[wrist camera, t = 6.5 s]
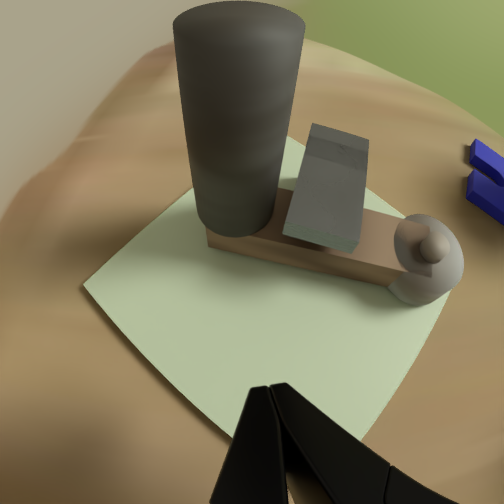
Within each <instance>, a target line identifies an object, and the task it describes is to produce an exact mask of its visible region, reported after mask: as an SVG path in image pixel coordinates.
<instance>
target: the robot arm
mask: <svg viewBox="0 0 504 504" xmlns="http://www.w3.org/2000/svg"><path fill="white" fill-rule="evenodd" d="M287 485H288V487H289V490H290V493H291V495H292V498H293V500H294V503H295V504H459V503H457V502H454V501H452V500H450V499H448V498H446V497H444V496H442V495H440V494H438V493H436V492H434V491H432V490H430V489H429V488H427V487H425V486H423V485H422V484H420V483H418V482H417V481H415V480H414V479H412V478H411V477H409V476H408V475H406V474H405V473H403V472H402V471H400V470H399V469H397V468H396V467H395V466H390V463H389V462H387V461H386V460H385V459H383V458H382V457H381V456H379V455H378V454H377V453H375V452H374V451H372V450H371V449H370V448H368V447H367V446H366V445H364V444H363V443H362V442H360V441H359V440H358V439H357V438H355V437H354V436H353V435H351V434H350V433H349V432H347V431H346V430H345V429H344V428H342V427H341V426H340V425H338V424H337V423H336V422H335V421H333V420H332V419H331V418H330V417H328V416H327V415H326V414H325V413H323V412H322V411H321V410H320V409H318V408H317V407H316V406H315V405H313V404H312V403H311V402H310V401H309V400H307V399H306V398H305V397H304V396H303V395H301V394H300V393H299V392H298V391H297V390H295V389H294V388H293V387H292V386H291V385H289V384H288V383H286V382H282V383H276V384H271V385H269V387H268V386H266V385H263V386H256V387H251V388H250V389H249V391H248V394H247V397H246V400H245V403H244V406H243V409H242V412H241V415H240V418H239V421H238V424H237V426H236V429H235V432H234V435H233V438H232V441H231V444H230V446H229V449H228V452H227V455H226V457H225V460H224V463H223V466H222V469H221V471H220V474H219V477H218V479H217V482H216V485H215V487H214V490H213V493H212V495H211V498H210V501H209V503H210V504H289V502H288V491H287Z"/></svg>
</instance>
